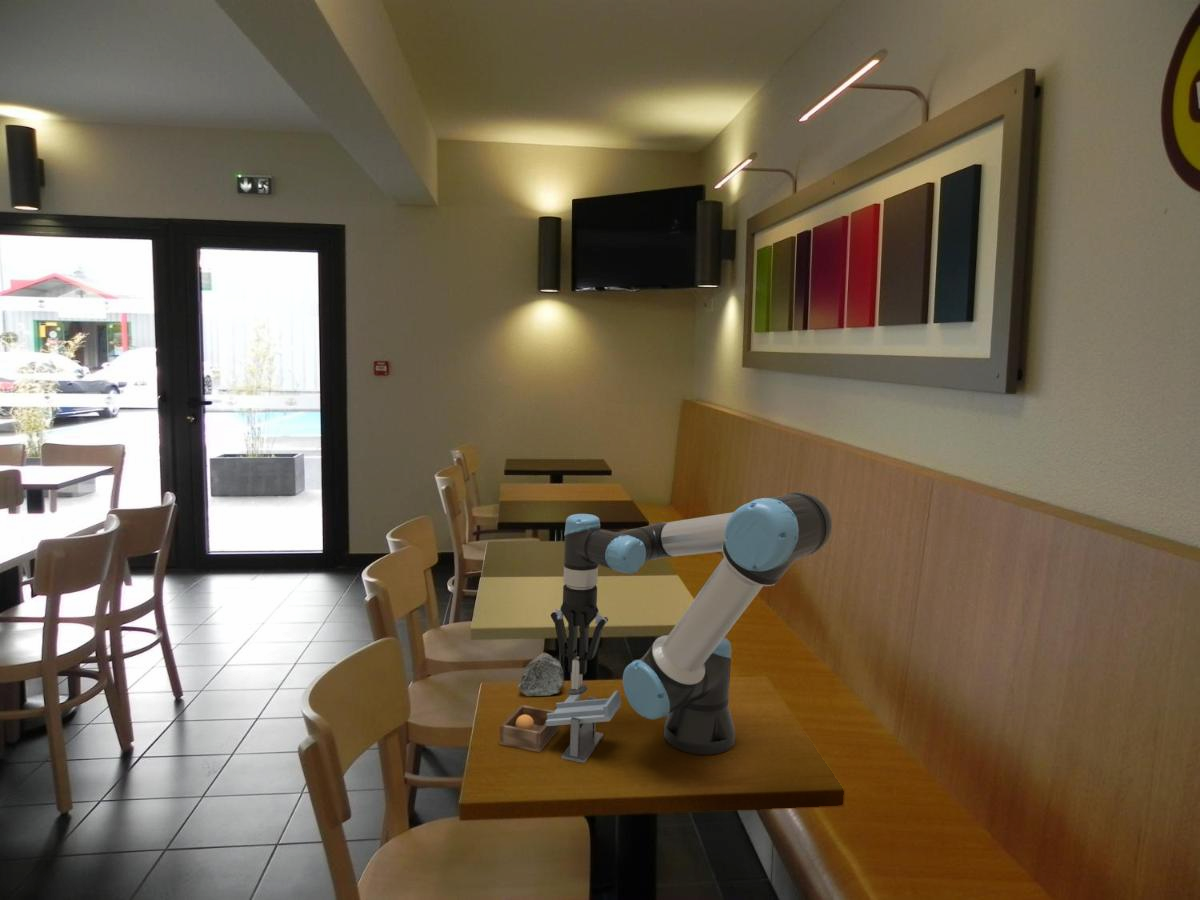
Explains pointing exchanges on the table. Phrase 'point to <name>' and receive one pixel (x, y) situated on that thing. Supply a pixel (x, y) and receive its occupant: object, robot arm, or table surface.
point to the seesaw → (584, 708)
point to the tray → (525, 737)
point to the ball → (525, 722)
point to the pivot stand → (581, 740)
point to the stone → (542, 676)
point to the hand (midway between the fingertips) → (576, 686)
